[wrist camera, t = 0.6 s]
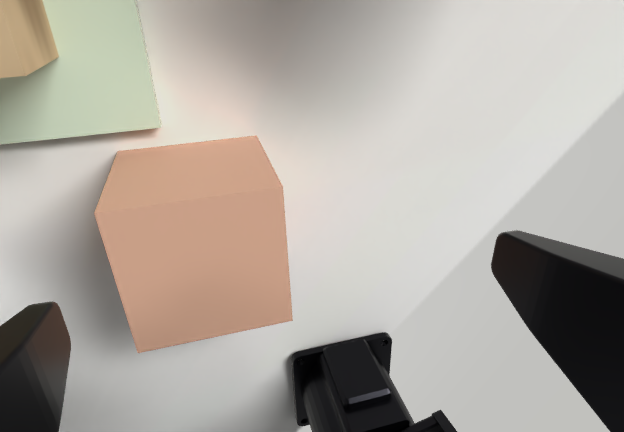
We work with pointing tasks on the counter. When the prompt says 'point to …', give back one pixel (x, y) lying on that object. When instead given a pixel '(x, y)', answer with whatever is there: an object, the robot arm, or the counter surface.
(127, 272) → the terracotta block
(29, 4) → the oak block
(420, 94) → the counter surface
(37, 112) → the build plate
